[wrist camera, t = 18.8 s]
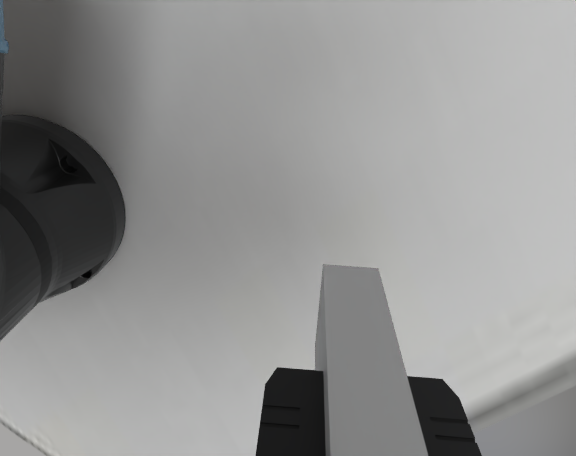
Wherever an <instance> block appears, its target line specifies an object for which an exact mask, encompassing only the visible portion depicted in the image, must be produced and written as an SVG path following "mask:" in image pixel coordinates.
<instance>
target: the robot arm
mask: <svg viewBox="0 0 576 456" xmlns="http://www.w3.org/2000/svg"><path fill="white" fill-rule="evenodd" d="M8 49H9V45H8V42H7V40H6V39H5V38H4V16H3V0H0V341H1V340H2V339H3V338H4V337H5V336H6V335H7V334H8V333H9V332H10V331H11V330H12V329H13V328H14V327H15V326H16V325H17V324H18V323H19V322H20V321H21V320H22V319H23V318H24V317H25V316H26V315H27V314H28V313H29V312H30V310H32V309H33V308H34V307H35V306H36V305H37V304H38V303H39V302H42V301H44V300H47V299H49V298H51V297H54V296H56V295H59V294H61V293H63V292H66V291H68V290H71V289H73V288H76V287H78V286H80V285H82V284H84V283H85V282H87V281H89V280H90V279H91V278H93V277H94V276H95V275H96V274H97V273H99V271H100V270H101V269H102V268H103V267H104V266H105V265H106V264H107V263H108V261H109V260H110V259H111V258H112V257H113V255H114V254H115V252H116V251H117V249H118V247H119V245H120V243H121V240H122V237H123V233H124V226H125V210H124V204H123V199H122V196H121V192H120V190H119V187H118V185H117V182H116V180H115V178H114V176H113V174H112V173H111V171H110V170H109V168H108V167H107V165H106V164H105V162H104V161H103V160H102V159H101V157H100V156H99V155H98V154H97V153H96V152H95V151H94V150H93V149H92V148H91V147H90V146H89V145H88V144H87V143H86V142H84V141H83V140H82V139H81V138H79V137H78V136H76V135H75V134H73V133H72V132H70V131H69V130H67V129H65V128H63V127H61V126H59V125H57V124H54V123H52V122H49V121H46V120H44V119H40V118H36V117H31V116H23V115H8V116H2V93H3V73H4V53H8ZM256 456H482V455H481V453H480V450H479V447H478V445H477V443H475V437H474V435H473V432H472V430H471V427H470V424H468V419H467V417H466V414H465V412H464V409H463V407H462V404H461V401H460V399H459V397H458V396H457V395H456V394H455V393H454V392H453V391H452V390H451V388H450V387H449V386H448V385H447V384H446V383H445V382H444V381H443V379H435V378H422V377H410V376H407V374H406V370H405V367H404V363H403V359H402V355H401V352H400V348H399V344H398V340H397V337H396V333H395V329H394V325H393V322H392V318H391V314H390V310H389V307H388V303H387V299H386V295H385V292H384V288H383V284H382V280H381V277H380V273H379V269H378V268H365V267H352V266H338V265H324V264H323V271H322V281H321V291H320V301H319V311H318V321H317V331H316V341H315V370H303V369H290V368H278V367H277V369H276V370H275V371H274V373H273V374H272V376H271V377H270V378H269V380H268V381H267V383H266V384H265V391H264V398H263V406H262V413H261V420H260V428H259V435H258V443H257V450H256Z"/></svg>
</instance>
